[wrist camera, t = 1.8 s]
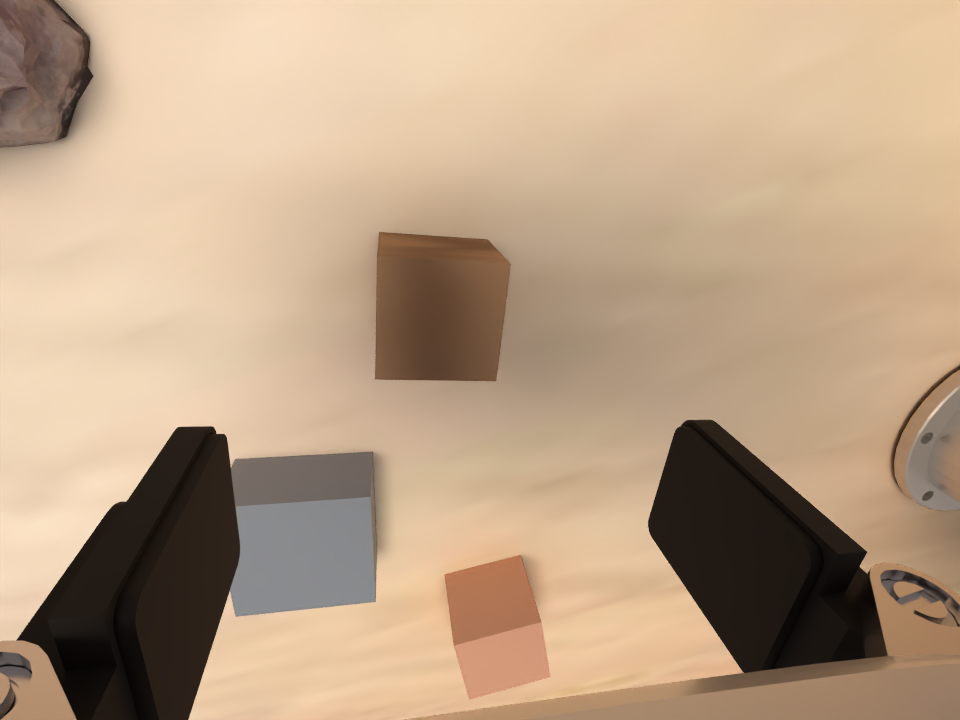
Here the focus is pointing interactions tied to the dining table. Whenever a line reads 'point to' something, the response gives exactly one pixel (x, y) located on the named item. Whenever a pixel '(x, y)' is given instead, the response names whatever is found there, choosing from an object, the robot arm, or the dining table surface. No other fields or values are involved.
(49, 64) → the geode
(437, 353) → the walnut cube
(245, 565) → the blue-grey square box
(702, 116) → the dining table surface
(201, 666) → the robot arm
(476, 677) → the terracotta cube
